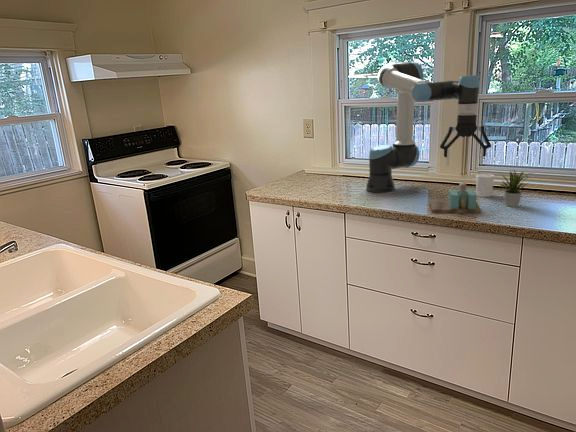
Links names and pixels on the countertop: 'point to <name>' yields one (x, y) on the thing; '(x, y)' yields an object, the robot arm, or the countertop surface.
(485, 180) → the white cup
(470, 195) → the teal notched block
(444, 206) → the baseplate
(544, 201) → the countertop surface
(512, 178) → the house plant
